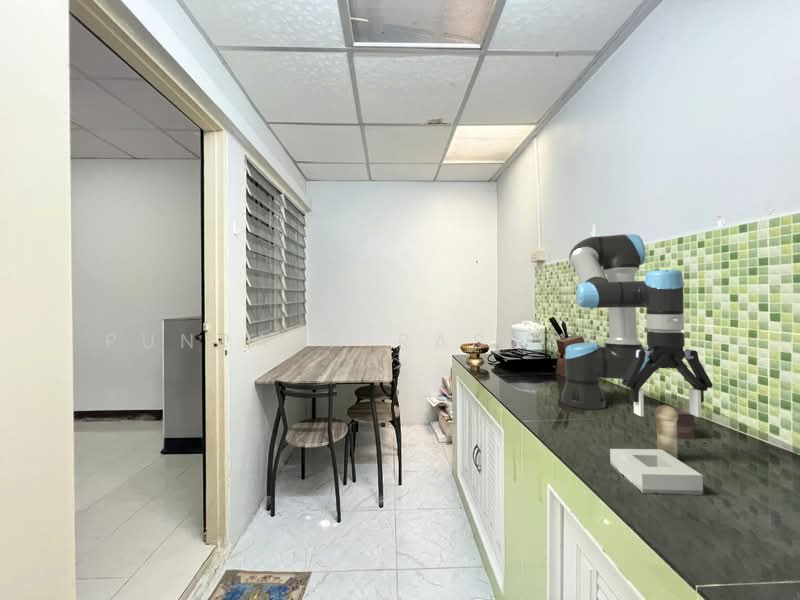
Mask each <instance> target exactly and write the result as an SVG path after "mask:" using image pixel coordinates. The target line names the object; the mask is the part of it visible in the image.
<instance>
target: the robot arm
mask: <svg viewBox="0 0 800 600" xmlns="http://www.w3.org/2000/svg"><path fill="white" fill-rule="evenodd" d="M645 247H646V246H645V244H644V241H643V239H642V238H641V236H639V235H637V234H626V233H623V234H615V235H604V236H603V235H602V236H591V237H587V238H584V239H583V240H581V241H579V242H578V243H577V244H575V245H574V246H573V248H572V249H571V250H570V253H569V257H568V260H569V264H570V266H571V267H572V268H573V269H574V270H575V271H576V275H577V277H578V280H579V283H578V285H577V287H576V299H577V300H576V301H577V306H579V307H580V308H586V309H587V308H590V309H598V308H600V309H601V308H602V309H603V308H605V309H606V308H607V309H608V332H609V334H608V335H609V337H608V339H606V340H605V342H604V346H600V343H598V342H579V343H572V344H569V345H567V346H566V347H565V353H564V354H565V355H564V359H565V384H564V386H563V389H562V391H561V395H560V402H561V403H562V404H563V405H566V406H568V407H571V408H575V409H576V408H577V409H581V410H582V409H583V410H603V409H605V408H606V403H607V402H606V399H605V396H604V393H603V390H602V387H601V381H600V379H618V380H622V381H621V385H623V386H626V387H627V388H629V390H630V393H629V394H630V400H631V401H632V402H633V413H634V414H635V415H637V416H639V417H644V416H645V414H644V413H645V410H644V409H645V408H644V407H645V405H644V390H643V389H641V388H642V387H643V386H644V385H645V383H646V382H647V381H648V380H649V379H650V378H651V376H652V375H653V374H654V373H655V372H656V371H658V370H659V369H676V371H677V372H678V373H679V374H680V375H681V376H682V377H683V378H684V379H685V380H686V382H687V383H689V384H690V385H691V387H689V388H688V397H689V399H688V403H689V405H688V407H689V410H688V411H689V412H690V414H692V415H694V417H697V418H702V403H704V400H705V399H704V398H705V397H704V392H707V391H708V389H711V388H712V387H713V386H714V385H713V382H712V381H711V379H710V378H709V376H708V374H707V372H706V370H705V368H704V367H703V365H702V363H701V361H700V358H699V353H698V351H697V350H695V349H685V350H684V348H685V345H686V343H685V341H686V340H685V333H684V332H682V331H684V329H685V311H684V310H685V309H684V307H685V306H684V305H685V304H684V300H685V299H684V297H685V296H684V286H685V282H684V276H683V272H682V271H681V270H679V269H661V270H650V271H647V272H646V274H645V280H638V281H637V280H636V277H635V274H636V273H637V272H638V271H639V270H640V266H641V265H643V264H644V263H645V262H646V248H645ZM606 275H607V276H606ZM637 308H646V315H645V316H646V321H645V322H646V329H647V330H648V331H647V332H646V344H647V348H648V349H647V348H645V347H643V342H641V341H640V340H639V339H638V336H637V335H638V332H637V329H638V328H637ZM684 358H685V359H686V361H687V363H688V365H689V367H690V369H691V370H690V369H689V368H688V365H687V364H686V363H685V362H684V361H683V359H684Z"/></svg>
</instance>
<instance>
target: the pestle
mask: <svg viewBox="0 0 800 600" xmlns="http://www.w3.org/2000/svg"><path fill="white" fill-rule="evenodd" d="M654 414H655V417H656V449H662V450H663V451H665V452H666V453H668V454H670V455H671V456H673V457H674V458H676V459H678V438H677V419H678V413H677V411H676V410H675V409H674V408H673V407H672V405H668V404H661V405H659V406H657V407H656V408H655V409H654Z"/></svg>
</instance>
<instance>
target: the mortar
mask: <svg viewBox="0 0 800 600" xmlns="http://www.w3.org/2000/svg"><path fill="white" fill-rule="evenodd" d="M609 452H610V453H609V458H610V459H609V460H610V463H609V465H610V464H611V465H612V466H613V467H614V468H615V469H617V470H618V471H619V472H620V473H621V474H623V475H624V476H625V477H626V478H627V479H628V480H629V481H630V482H631V483H633V485H632V486H634V485H635V486H636V487H637V488H638V489H639V490H640V491H641V494H654V493H658V495H661V494H663V495H666V494H667V495H668V494H669V495H704V484H703V483H704V477H703V476H704V475H703V474H701V473H700V472H699V471H697V470H695V469H694V468H692V467H690V466H689V465H687V464H686V463H684V462H683V461H681V460H679V459H678V458H677V459H676V458H674V457H673V456H671V455H670V454H668V453H666V452H665V451H663V450H662V449H657V448H656V449H655V448H654V449H652V448H651V449H649V448H647V449H645V448H610V449H609ZM611 465H610V466H611ZM612 466H611V467H612ZM613 467H612V468H613ZM614 468H613V469H614ZM615 469H614V470H615ZM617 470H616V471H617ZM618 471H617V472H618ZM619 472H618V473H619ZM620 473H619V474H620ZM621 474H620V475H621ZM625 477H624V478H625ZM626 478H625V479H626ZM627 479H626V480H627ZM628 480H627V481H628ZM629 481H628V482H629ZM630 482H629V483H630ZM631 483H630V484H631ZM635 486H634V487H635ZM636 487H635V488H636ZM637 488H636V489H637ZM638 489H637V490H638ZM639 490H638V491H639ZM640 491H639V492H640Z"/></svg>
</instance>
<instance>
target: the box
mask: <svg viewBox="0 0 800 600" xmlns="http://www.w3.org/2000/svg"><path fill="white" fill-rule="evenodd" d="M673 408H674V409H675V410H676V411H677V413H678V419H677V439H691V440H695V438H696V436H695V416H694V415H692V414H690V412H689V410H686V409H684V408H682V407H673Z"/></svg>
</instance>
